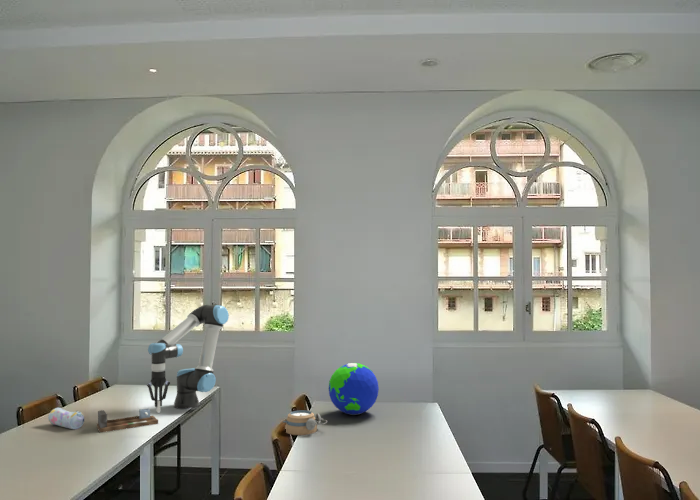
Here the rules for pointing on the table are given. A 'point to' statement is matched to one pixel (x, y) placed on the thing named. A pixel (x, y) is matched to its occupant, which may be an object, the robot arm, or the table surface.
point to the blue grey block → (144, 413)
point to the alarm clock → (302, 422)
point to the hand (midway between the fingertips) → (158, 412)
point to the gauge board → (122, 422)
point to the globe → (353, 388)
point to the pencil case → (66, 418)
